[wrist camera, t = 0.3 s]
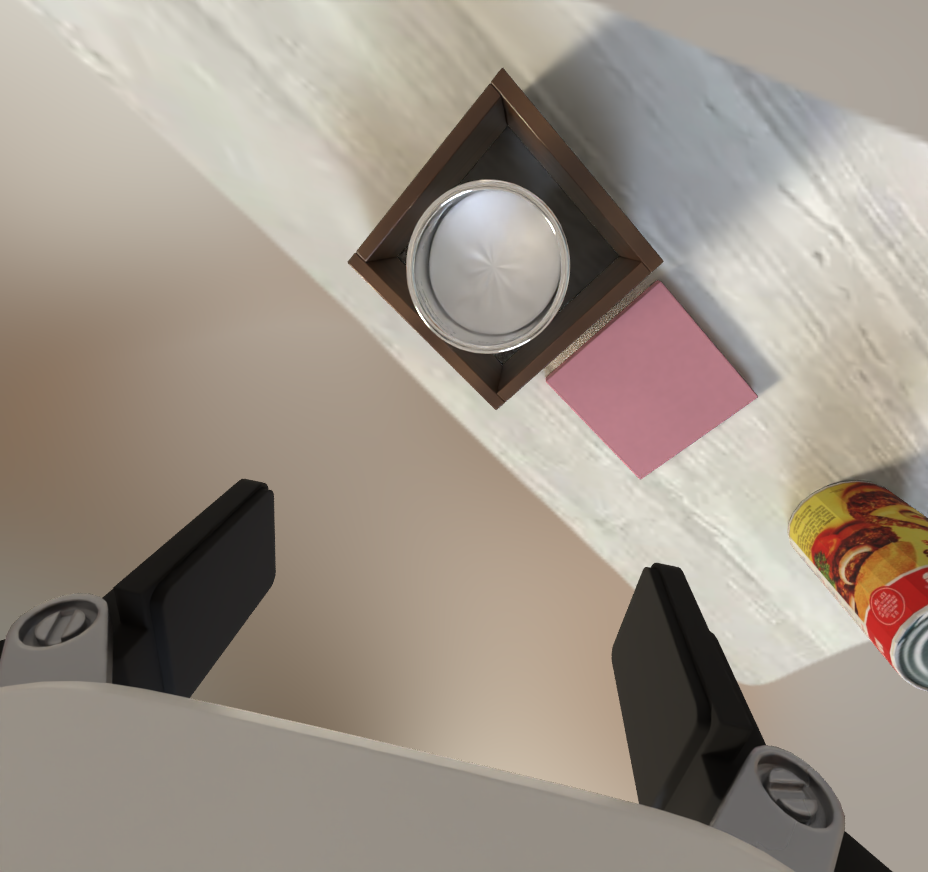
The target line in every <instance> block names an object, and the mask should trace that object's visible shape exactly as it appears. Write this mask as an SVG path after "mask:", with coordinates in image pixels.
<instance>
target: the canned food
mask: <svg viewBox="0 0 928 872" xmlns="http://www.w3.org/2000/svg"><path fill="white" fill-rule="evenodd" d="M788 536H789V540H790V543H791V545H792V547H793V548H794V549H795V551H796V552H797V553H798V555H799V556H800V557H801V558H802V559H803V561H804V562H805V563H806V564H807V565H808V566H809V568H810V569H811V570H812V571H813V572H814V574H815V575H816V576H817V577H818V578H819V580H820V581H821V582H822V583H823V584H824V586H825V587H826V588H827V589H828V590H829V592H830V593H831V594H832V595H833V596H834V598H835V599H836V600H837V601H838V602H839V603H840V605H841V606H842V607H843V608H844V609H845V611H846V612H847V613H848V614H849V615H850V617H851V618H852V619H853V620H854V621H855V623H856V624H857V625H858V626H859V627H860V629H861V630H862V631H863V632H864V633H865V635H866V636H867V637H868V638H869V639H870V640H871V642H872V643H873V644H874V645H875V646H876V647H877V649H878V650H879V651H880V652H881V654H882V655H883V656H884V657H885V658H886V660H887V661H888V662H889V663H890V664H891V665H892V667H893V668H894V669H895V670H896V672H897V673H898V674H899V675H900V676H901V677H902V679H904V680H905V681H907V682H908V683H910V684H911V685H912V686H914V687H915V688H918V689H921V690H924V691H926V692H928V518H927V517H925V516H924V515H922V514H921V513H920V512H918V511H917V510H915V509H914V508H913V507H911V506H910V505H908V504H907V503H906V502H904V501H903V500H901V499H900V498H899V497H897V496H896V495H894V494H893V493H892V492H890V491H889V490H887V489H886V488H885V487H882V486H880V485H877V484H874V483H872V482H864V481H847V482H840V483H836V484H833V485H829V486H826V487H824V488H822V489H820V490H818V491H816V492H814V493H812V494H811V495H810V496H809V497H807V498H806V499H805V500H804V501H802V502H801V504H800V505H799V506H798V507H797V509H796V510H795V511H794V512H793V515H792V517H791V519H790V522H789V527H788Z"/></svg>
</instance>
